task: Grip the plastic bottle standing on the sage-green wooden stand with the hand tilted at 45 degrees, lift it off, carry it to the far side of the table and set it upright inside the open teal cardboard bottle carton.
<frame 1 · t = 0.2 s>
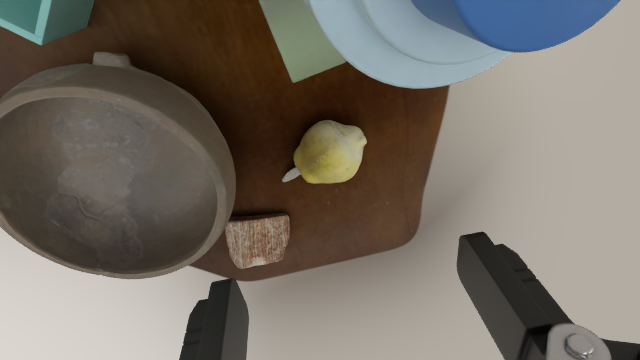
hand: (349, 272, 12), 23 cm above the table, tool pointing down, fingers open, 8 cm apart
fruit: (318, 147, 36), on the table
bowl: (150, 140, 33), on the table
stone: (260, 227, 41), on the table
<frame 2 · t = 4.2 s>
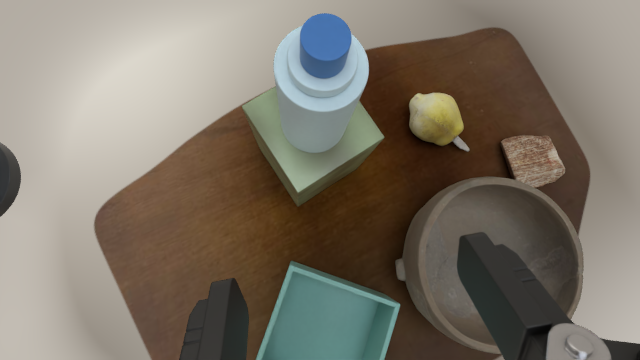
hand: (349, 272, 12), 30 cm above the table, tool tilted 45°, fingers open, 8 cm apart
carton: (321, 327, 41), on the table
stand: (308, 157, 44), on the table
fruit: (433, 129, 46), on the table
bowl: (457, 256, 43), on the table
bottle: (313, 121, 30), point 14 cm above the table, touching stand
stone: (520, 163, 46), on the table
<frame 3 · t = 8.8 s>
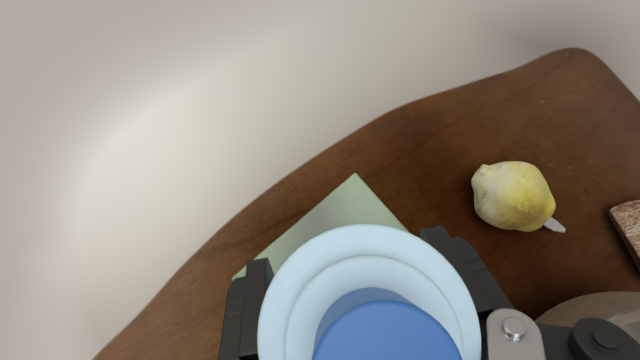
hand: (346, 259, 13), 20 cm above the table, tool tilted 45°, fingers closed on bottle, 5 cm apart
stand: (340, 270, 32), on the table
fruit: (507, 204, 33), on the table
bottle: (348, 288, 18), point 14 cm above the table, touching gripper, stand
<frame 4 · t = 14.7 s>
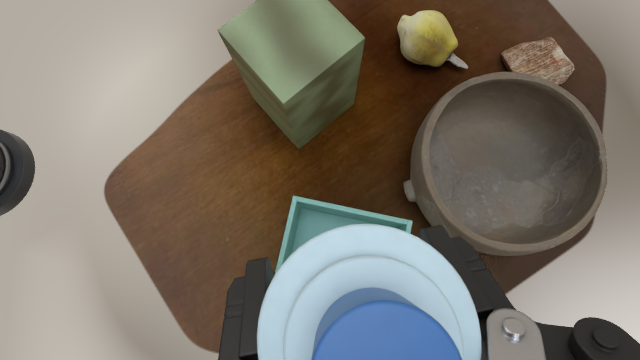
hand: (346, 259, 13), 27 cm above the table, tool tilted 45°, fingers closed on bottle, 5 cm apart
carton: (338, 265, 39), on the table
stand: (303, 101, 43), on the table
fruit: (428, 54, 44), on the table
bowl: (471, 177, 41), on the table
bottle: (348, 288, 18), point 21 cm above the table, touching gripper
stone: (526, 74, 43), on the table
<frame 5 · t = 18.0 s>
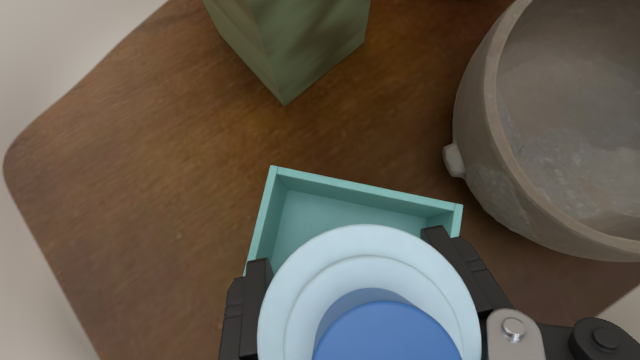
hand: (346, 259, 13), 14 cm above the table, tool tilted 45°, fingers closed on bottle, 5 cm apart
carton: (341, 274, 26), on the table
stand: (291, 38, 30), on the table
bowl: (536, 145, 28), on the table
bottle: (348, 288, 18), point 8 cm above the table, touching gripper
when the fingers open (7 cm above the table, at t = 20.6 s): bottle stays where it is, resting on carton.
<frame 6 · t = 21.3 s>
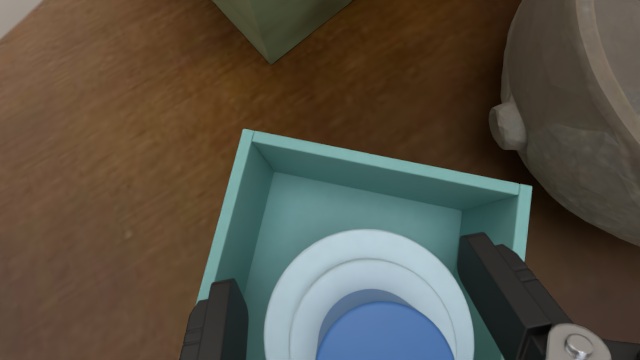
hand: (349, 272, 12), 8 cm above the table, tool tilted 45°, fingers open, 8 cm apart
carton: (347, 286, 19), on the table
bowl: (605, 114, 21), on the table
bottle: (348, 289, 19), resting on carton
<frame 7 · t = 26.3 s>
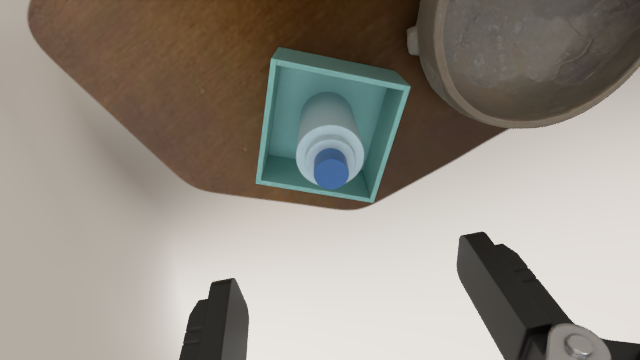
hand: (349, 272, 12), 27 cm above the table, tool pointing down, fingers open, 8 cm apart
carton: (326, 115, 37), on the table
bowl: (493, 7, 33), on the table
bottle: (326, 118, 37), resting on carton
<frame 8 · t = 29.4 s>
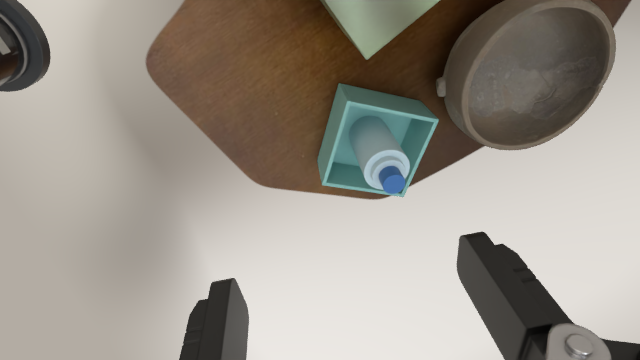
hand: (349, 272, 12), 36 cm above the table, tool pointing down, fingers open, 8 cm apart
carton: (367, 131, 50), on the table
bowl: (491, 59, 46), on the table
bottle: (368, 133, 49), resting on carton
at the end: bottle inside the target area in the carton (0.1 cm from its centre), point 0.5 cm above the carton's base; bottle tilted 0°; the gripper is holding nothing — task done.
